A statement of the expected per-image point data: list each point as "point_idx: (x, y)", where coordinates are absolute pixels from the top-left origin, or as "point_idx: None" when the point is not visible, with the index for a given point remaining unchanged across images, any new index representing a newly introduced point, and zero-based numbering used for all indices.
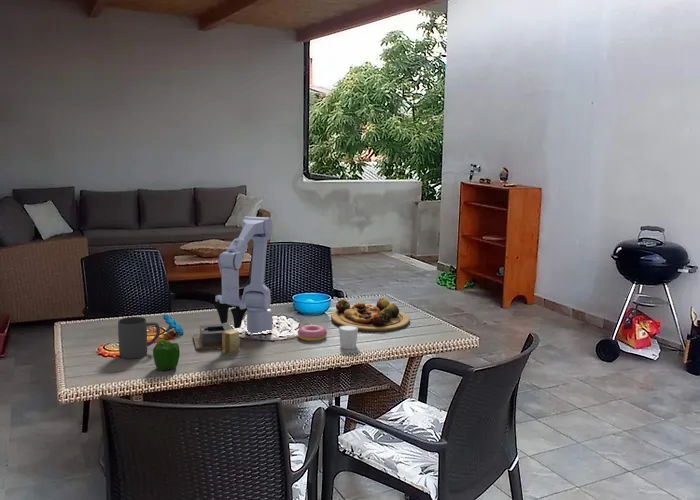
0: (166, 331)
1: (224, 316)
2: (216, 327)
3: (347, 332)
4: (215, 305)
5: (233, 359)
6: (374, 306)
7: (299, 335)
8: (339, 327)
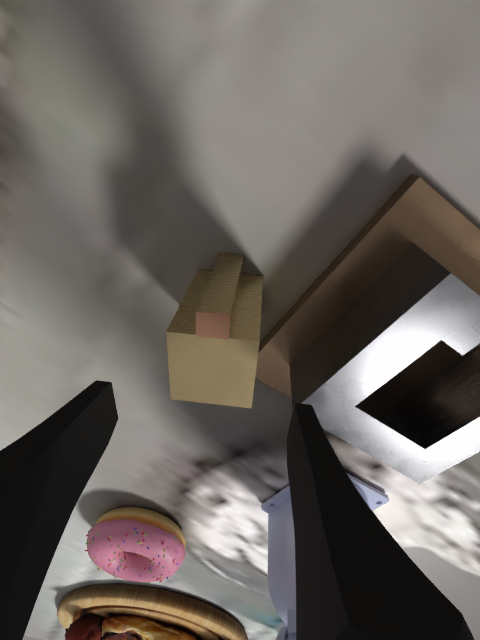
0: None
1: (298, 479)
2: (455, 423)
3: None
4: (417, 628)
5: (110, 220)
6: None
7: (150, 521)
8: None
